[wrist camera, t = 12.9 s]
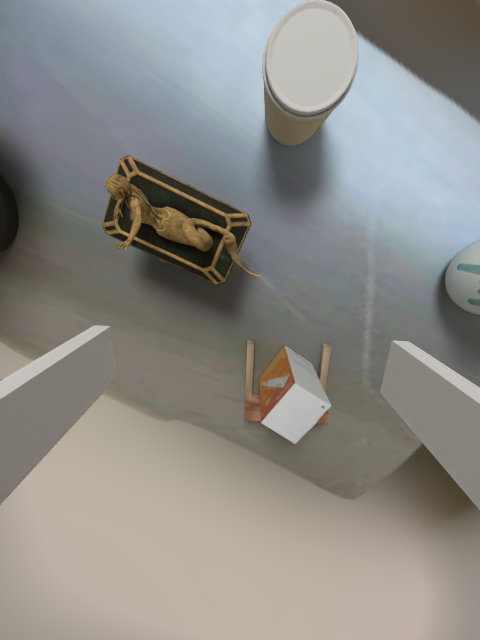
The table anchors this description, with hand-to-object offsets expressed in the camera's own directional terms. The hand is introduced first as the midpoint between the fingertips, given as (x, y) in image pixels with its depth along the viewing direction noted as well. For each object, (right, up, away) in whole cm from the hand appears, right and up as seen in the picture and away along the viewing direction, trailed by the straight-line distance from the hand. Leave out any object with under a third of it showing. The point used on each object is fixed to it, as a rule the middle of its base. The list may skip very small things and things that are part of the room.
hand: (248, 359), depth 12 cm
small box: (+8, -7, +36) cm, 38 cm away
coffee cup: (+7, +31, +25) cm, 40 cm away
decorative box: (-6, +16, +30) cm, 34 cm away
